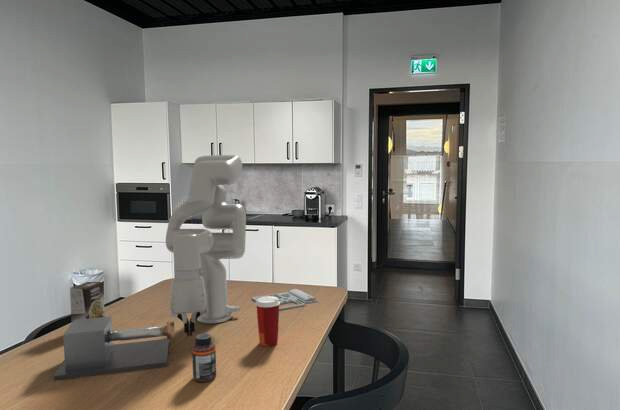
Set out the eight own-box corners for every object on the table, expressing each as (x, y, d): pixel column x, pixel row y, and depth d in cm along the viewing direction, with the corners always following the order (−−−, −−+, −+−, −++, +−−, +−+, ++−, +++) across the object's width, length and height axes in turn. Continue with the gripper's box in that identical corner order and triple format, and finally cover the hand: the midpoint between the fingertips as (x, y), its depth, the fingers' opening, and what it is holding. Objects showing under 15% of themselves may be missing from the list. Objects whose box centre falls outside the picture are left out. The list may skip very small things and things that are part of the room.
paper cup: (284, 339, 139) (283, 296, 138) (275, 349, 132) (274, 303, 131) (262, 337, 142) (261, 294, 141) (251, 346, 135) (250, 301, 134)
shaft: (174, 335, 133) (174, 318, 132) (174, 341, 128) (173, 324, 127) (95, 343, 127) (94, 326, 127) (91, 350, 122) (90, 332, 122)
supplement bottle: (195, 373, 117) (193, 332, 116) (217, 372, 118) (216, 331, 117) (191, 383, 111) (189, 340, 110) (214, 382, 112) (213, 339, 111)
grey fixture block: (169, 342, 139) (168, 308, 138) (166, 366, 121) (165, 327, 121) (71, 353, 131) (69, 317, 131) (53, 380, 114) (51, 339, 113)
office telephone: (300, 287, 196) (323, 298, 178) (300, 292, 196) (323, 304, 178) (251, 294, 184) (270, 306, 167) (251, 300, 184) (270, 313, 167)
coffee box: (88, 336, 145) (85, 288, 144) (71, 335, 146) (68, 287, 145) (106, 326, 154) (104, 281, 152) (90, 325, 155) (87, 280, 154)
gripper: (212, 269, 136) (214, 327, 137) (161, 273, 132) (164, 332, 133) (213, 275, 128) (215, 336, 130) (160, 279, 124) (162, 342, 126)
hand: (189, 334), depth 131 cm, fingers closed
